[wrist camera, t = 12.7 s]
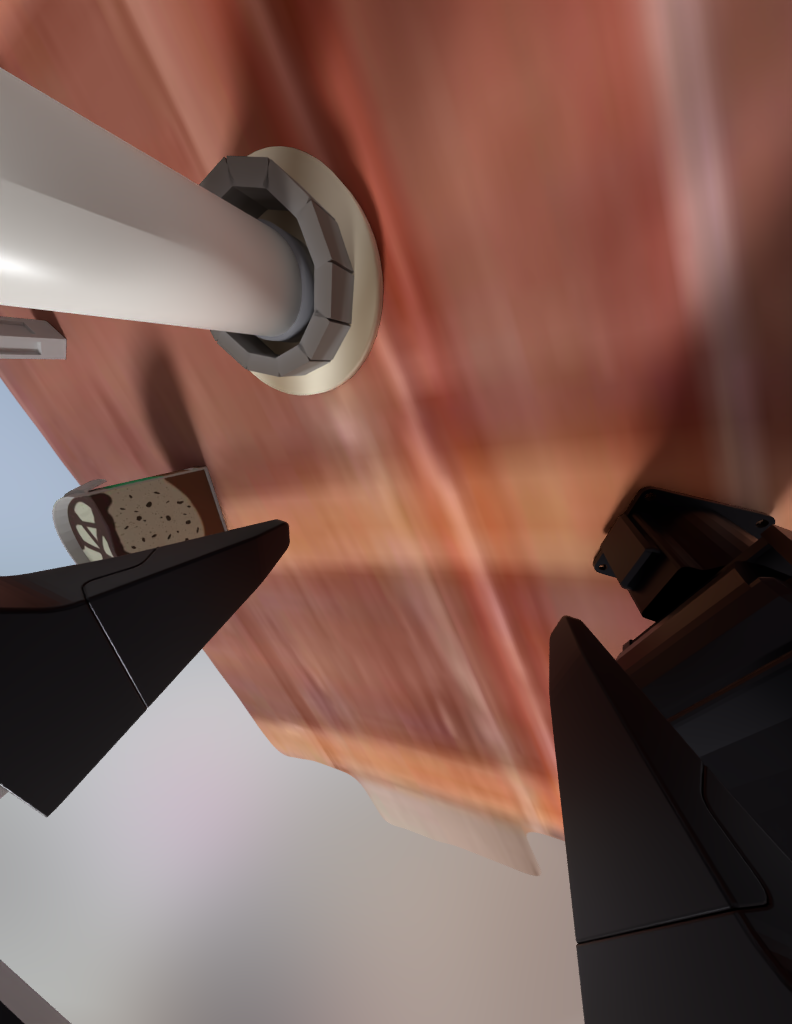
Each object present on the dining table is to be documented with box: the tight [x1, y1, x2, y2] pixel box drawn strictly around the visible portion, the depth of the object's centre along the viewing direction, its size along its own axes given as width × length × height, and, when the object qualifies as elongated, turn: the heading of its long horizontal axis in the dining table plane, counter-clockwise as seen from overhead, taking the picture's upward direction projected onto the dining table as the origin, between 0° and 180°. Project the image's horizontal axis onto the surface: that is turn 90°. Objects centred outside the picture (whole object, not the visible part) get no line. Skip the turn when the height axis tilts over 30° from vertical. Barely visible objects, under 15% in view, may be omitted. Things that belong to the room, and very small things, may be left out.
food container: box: [52, 466, 228, 564], centre depth 27 cm, size 12×6×10 cm, turn 1°
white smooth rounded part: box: [0, 68, 314, 343], centre depth 12 cm, size 5×5×14 cm
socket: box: [199, 146, 383, 395], centre depth 17 cm, size 12×12×4 cm
